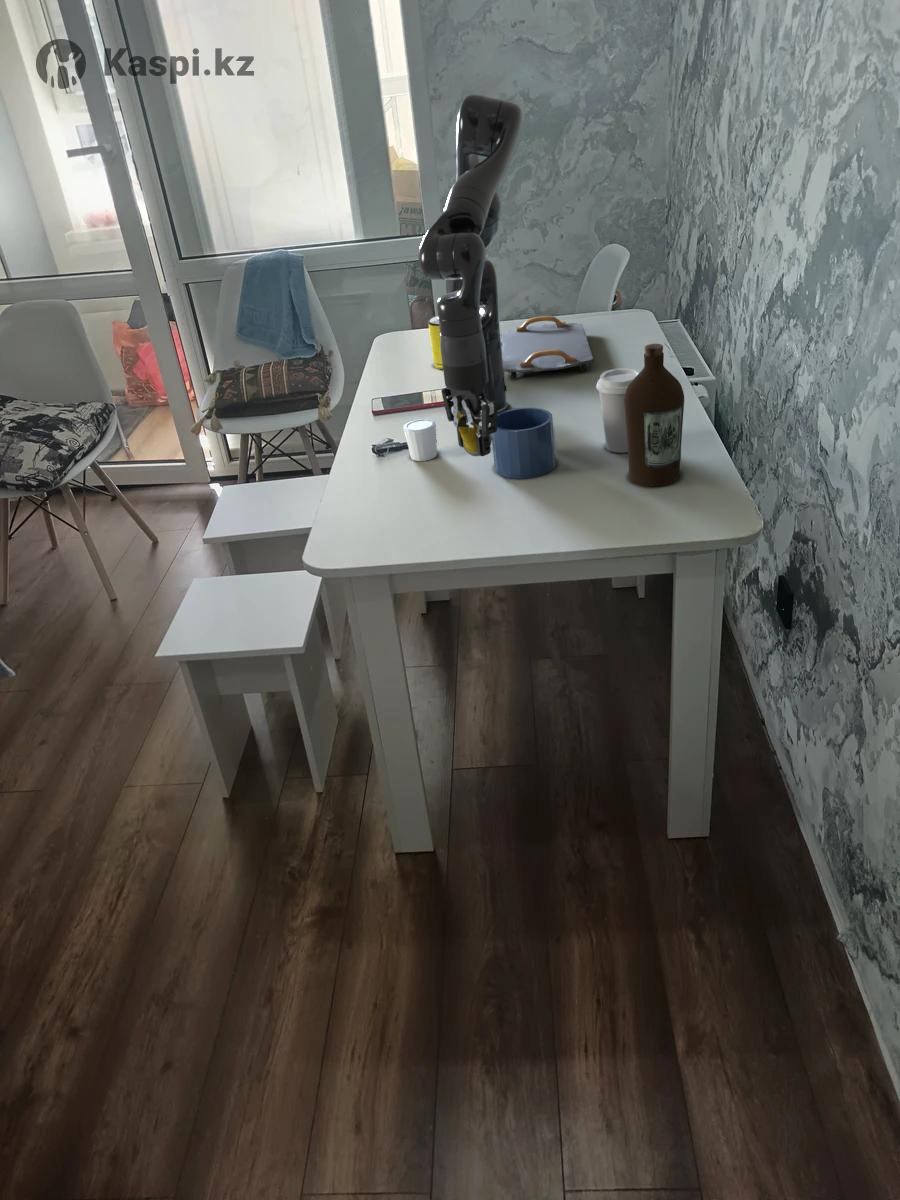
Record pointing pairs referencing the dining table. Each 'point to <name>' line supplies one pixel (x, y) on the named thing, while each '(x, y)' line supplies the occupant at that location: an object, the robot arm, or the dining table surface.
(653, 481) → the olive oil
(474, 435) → the drill bit
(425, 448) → the white cylinder
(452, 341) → the robot arm
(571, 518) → the dining table surface
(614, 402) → the coffee cup
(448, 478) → the dining table surface
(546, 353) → the serving tray
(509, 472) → the cup
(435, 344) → the yellow can
